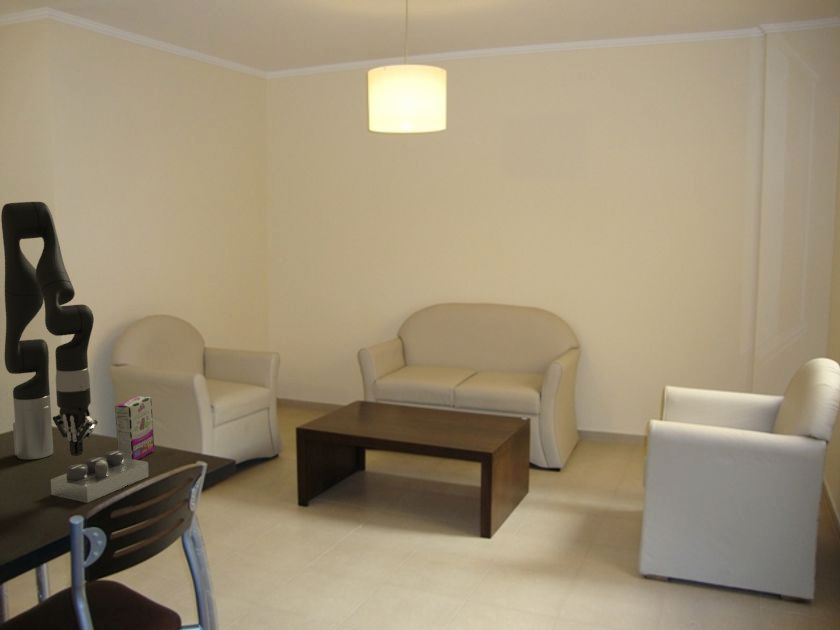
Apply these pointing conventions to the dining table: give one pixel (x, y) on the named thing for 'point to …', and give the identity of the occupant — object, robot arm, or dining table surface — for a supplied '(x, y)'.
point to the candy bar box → (135, 427)
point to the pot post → (101, 469)
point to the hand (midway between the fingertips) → (76, 454)
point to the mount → (100, 481)
